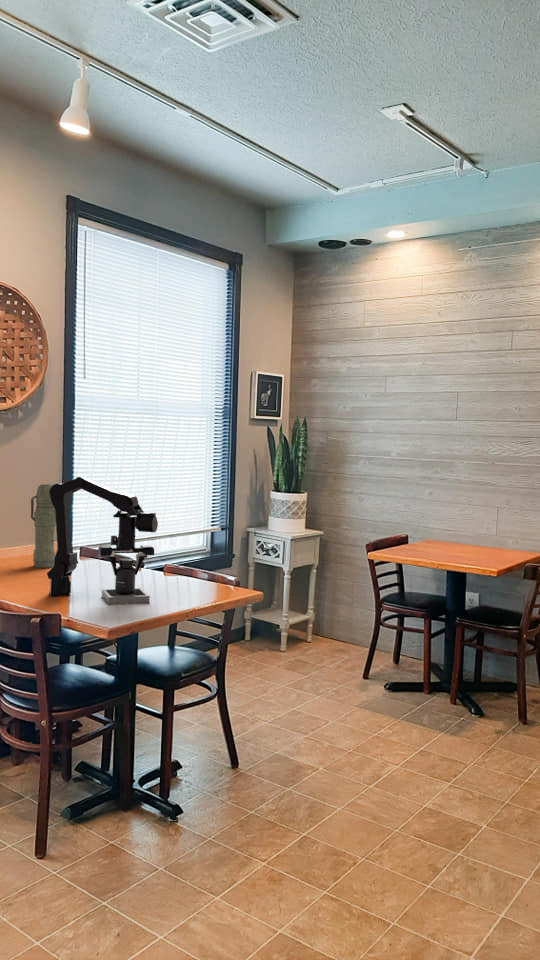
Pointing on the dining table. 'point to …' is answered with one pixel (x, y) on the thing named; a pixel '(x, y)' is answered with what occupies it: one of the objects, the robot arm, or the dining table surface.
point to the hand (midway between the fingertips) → (125, 575)
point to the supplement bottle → (125, 578)
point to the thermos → (43, 528)
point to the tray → (125, 597)
